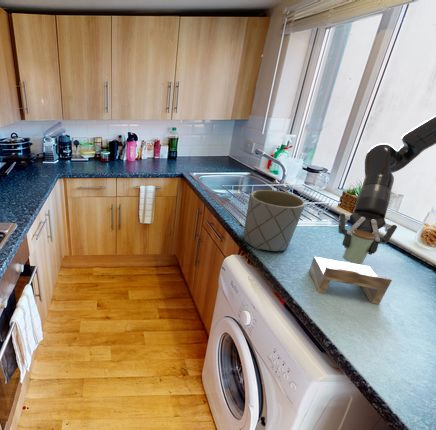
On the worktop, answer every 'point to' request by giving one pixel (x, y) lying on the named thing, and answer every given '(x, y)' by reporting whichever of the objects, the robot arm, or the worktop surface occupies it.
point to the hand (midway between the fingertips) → (358, 250)
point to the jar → (358, 246)
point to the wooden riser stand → (348, 277)
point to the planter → (272, 219)
